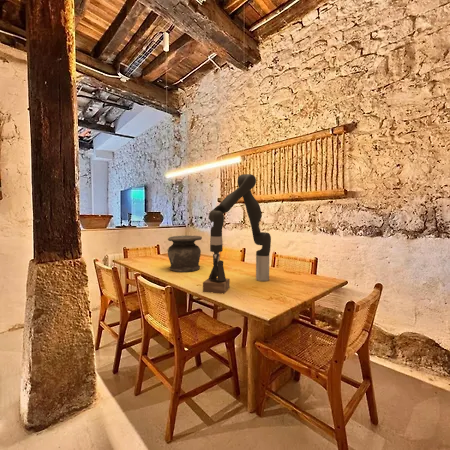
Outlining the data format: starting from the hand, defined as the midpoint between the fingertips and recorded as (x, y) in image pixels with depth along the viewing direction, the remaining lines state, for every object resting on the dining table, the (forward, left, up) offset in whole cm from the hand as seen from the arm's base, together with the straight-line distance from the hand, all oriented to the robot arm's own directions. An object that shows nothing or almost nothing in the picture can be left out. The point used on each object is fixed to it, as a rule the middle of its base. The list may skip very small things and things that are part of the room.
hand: (216, 270), depth 160 cm
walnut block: (0, 0, -12) cm, 12 cm away
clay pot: (-56, -31, -12) cm, 65 cm away
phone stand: (+2, +1, -6) cm, 6 cm away
